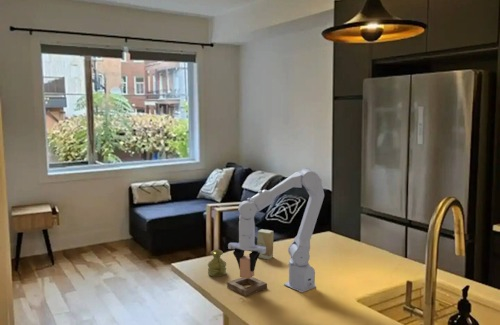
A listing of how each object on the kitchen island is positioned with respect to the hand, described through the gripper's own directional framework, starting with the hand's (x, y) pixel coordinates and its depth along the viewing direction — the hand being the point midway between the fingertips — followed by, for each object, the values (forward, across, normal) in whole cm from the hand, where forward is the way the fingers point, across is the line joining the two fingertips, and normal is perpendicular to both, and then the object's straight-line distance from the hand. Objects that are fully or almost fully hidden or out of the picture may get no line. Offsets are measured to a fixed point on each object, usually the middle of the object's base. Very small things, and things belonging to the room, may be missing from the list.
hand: (246, 269), depth 163 cm
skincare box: (+7, +7, -34) cm, 36 cm away
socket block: (+7, 0, 0) cm, 7 cm away
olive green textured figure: (+7, +17, -8) cm, 20 cm away
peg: (+2, 0, 0) cm, 3 cm away
